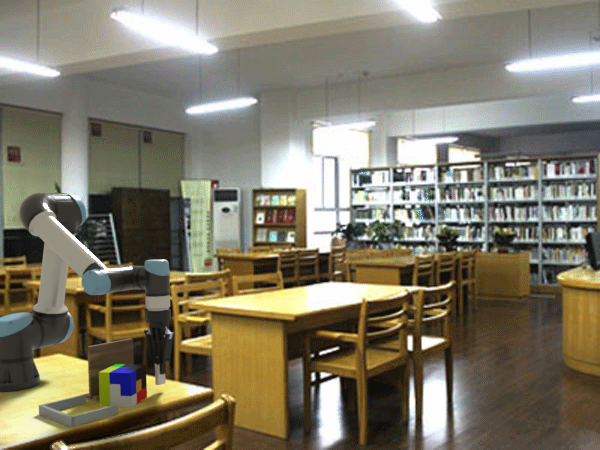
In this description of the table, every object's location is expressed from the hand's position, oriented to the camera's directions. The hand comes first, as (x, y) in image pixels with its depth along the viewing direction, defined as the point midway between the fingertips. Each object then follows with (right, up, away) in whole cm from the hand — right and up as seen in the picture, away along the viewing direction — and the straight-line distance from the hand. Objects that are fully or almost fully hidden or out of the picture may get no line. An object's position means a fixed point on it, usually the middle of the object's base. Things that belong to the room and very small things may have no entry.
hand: (160, 383), depth 194 cm
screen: (-15, -3, -1) cm, 15 cm away
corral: (-18, -3, -21) cm, 28 cm away
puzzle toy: (-9, -3, -10) cm, 13 cm away
